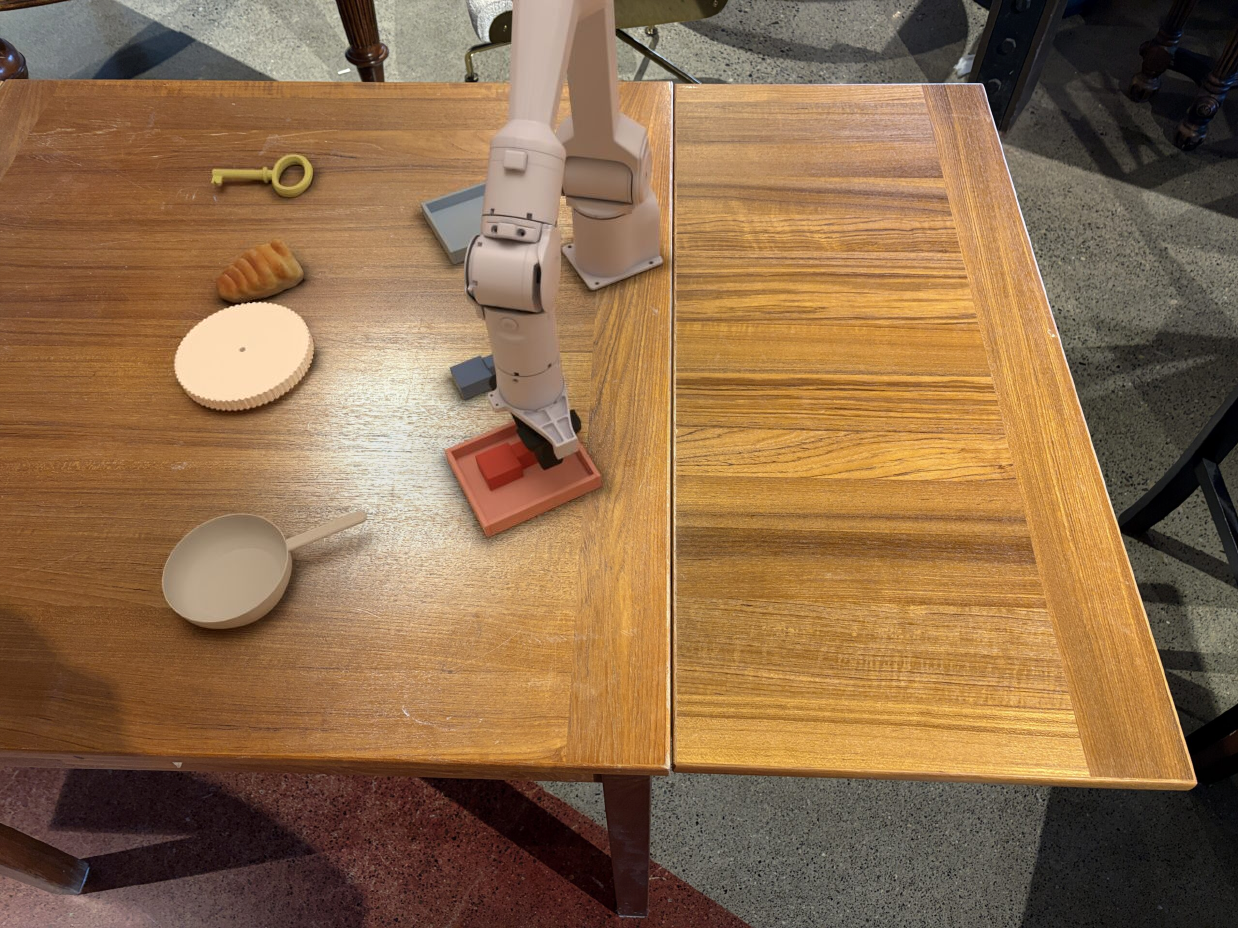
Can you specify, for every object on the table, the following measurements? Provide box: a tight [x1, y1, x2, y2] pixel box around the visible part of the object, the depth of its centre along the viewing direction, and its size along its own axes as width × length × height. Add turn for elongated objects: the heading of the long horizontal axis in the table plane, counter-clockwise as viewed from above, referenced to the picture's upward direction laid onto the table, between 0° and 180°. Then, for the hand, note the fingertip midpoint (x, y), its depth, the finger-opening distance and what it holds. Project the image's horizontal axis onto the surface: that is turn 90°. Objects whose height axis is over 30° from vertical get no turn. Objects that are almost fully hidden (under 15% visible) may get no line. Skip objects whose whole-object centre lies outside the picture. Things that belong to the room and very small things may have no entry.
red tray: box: [444, 420, 603, 539], centre depth 86 cm, size 12×10×2 cm
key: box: [210, 153, 314, 198], centre depth 113 cm, size 7×12×2 cm, turn 112°
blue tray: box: [419, 180, 486, 265], centre depth 108 cm, size 12×10×2 cm
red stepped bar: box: [475, 441, 538, 491], centre depth 87 cm, size 9×3×2 cm, turn 118°
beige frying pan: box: [161, 509, 368, 630], centre depth 80 cm, size 11×18×4 cm, turn 114°
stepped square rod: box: [449, 353, 496, 401], centre depth 94 cm, size 9×3×2 cm, turn 118°
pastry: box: [216, 238, 305, 304], centre depth 102 cm, size 9×7×4 cm
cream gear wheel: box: [173, 301, 315, 412], centre depth 95 cm, size 14×14×2 cm
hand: (541, 446), depth 87 cm, fingers open, 4 cm apart
